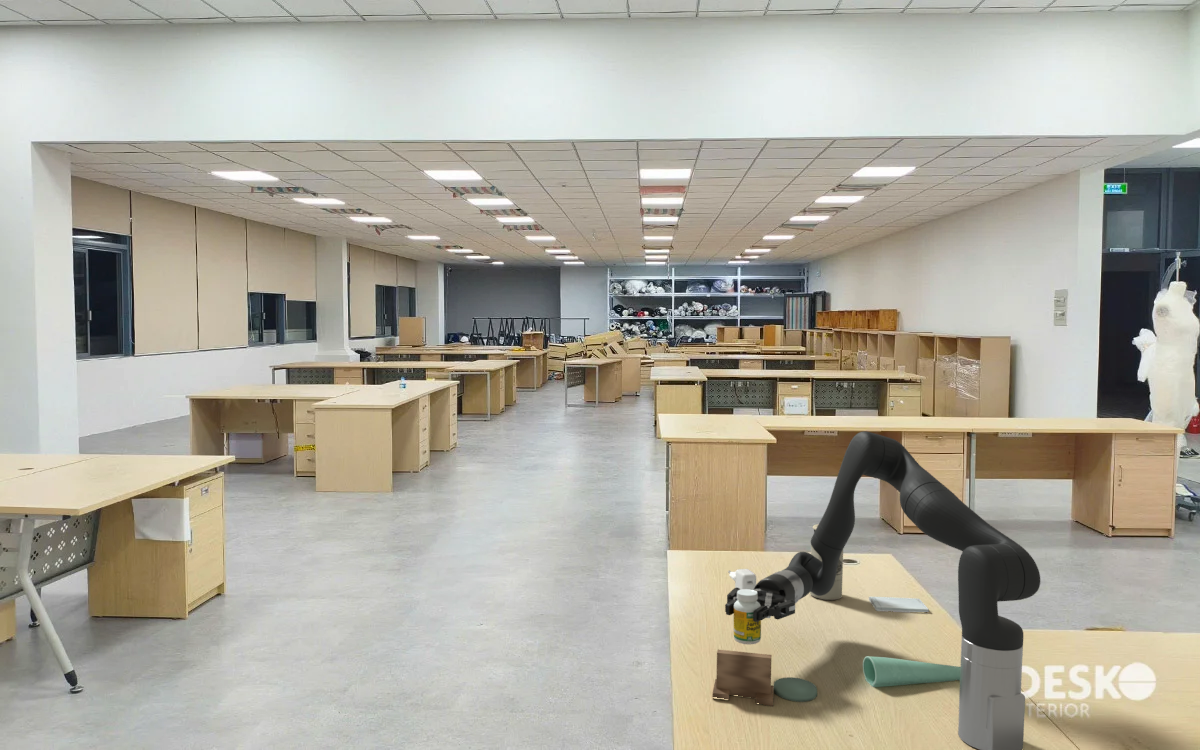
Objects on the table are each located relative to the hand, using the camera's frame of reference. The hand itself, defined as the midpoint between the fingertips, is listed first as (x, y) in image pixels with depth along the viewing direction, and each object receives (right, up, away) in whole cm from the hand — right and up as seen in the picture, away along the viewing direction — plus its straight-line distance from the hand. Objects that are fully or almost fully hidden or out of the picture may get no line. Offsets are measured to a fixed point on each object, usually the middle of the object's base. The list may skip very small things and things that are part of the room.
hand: (741, 613), depth 154 cm
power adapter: (+10, -11, +55) cm, 57 cm away
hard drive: (+47, -12, +44) cm, 66 cm away
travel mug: (+31, -11, +51) cm, 61 cm away
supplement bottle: (+2, -6, +2) cm, 7 cm away
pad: (+10, -14, -3) cm, 17 cm away
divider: (-1, -14, -5) cm, 15 cm away
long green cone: (+38, -14, +3) cm, 41 cm away
